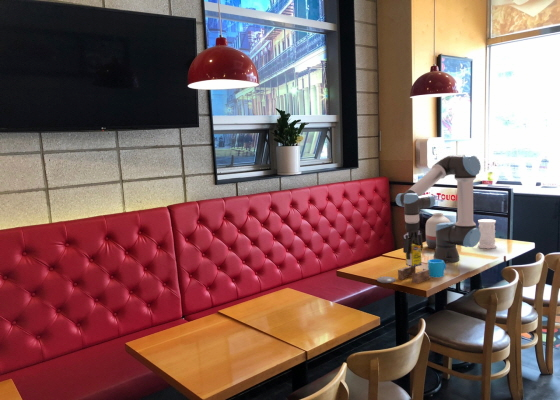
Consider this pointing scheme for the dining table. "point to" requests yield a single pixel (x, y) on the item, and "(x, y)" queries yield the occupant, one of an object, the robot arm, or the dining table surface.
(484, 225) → the decorative container
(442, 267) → the mug
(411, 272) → the pocket
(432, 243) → the vase
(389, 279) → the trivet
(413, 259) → the supplement box
